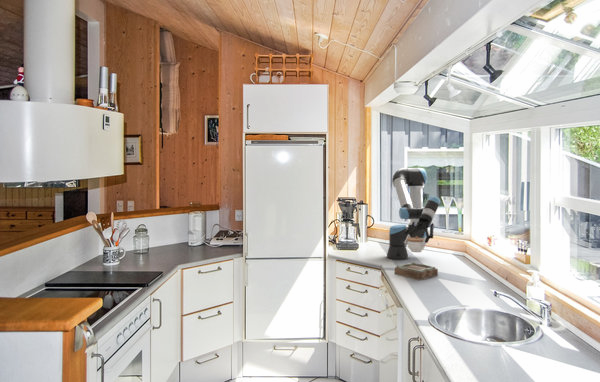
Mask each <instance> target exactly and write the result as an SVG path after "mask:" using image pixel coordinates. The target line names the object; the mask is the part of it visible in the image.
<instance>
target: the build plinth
mask: <svg viewBox="0 0 600 382" xmlns="http://www.w3.org/2000/svg"><path fill="white" fill-rule="evenodd" d="M394 275H397V276H401V277H405V278H409V279H413V280H417V281H420V280H425V279H428V278H433V277H437V276H438V275H439V269H438V268H436V266H432V265H427V264H423V263H419V262H409V263H405V264H404V263H403V264H400V265H397V266H395V267H394Z"/></svg>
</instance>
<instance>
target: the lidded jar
mask: <svg viewBox="0 0 600 382" xmlns="http://www.w3.org/2000/svg"><path fill="white" fill-rule="evenodd" d="M423 240H424V238H418V237H417V236H416V237H412V238H407V243H408V244H407V247H408V249H409V250H410V252H412V253H422V251H423V250H424V249H425V247H426V246H425V247H424V248H423V247H422V242H423Z"/></svg>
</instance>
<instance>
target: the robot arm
mask: <svg viewBox="0 0 600 382" xmlns="http://www.w3.org/2000/svg"><path fill="white" fill-rule="evenodd" d="M391 181H392V185H393V188H395V190H396V195H397V199H398V200H399V204H400V207H399V210H398V214H399V218H400V219H401V220H410V222H408V224H407V225H408V226H407V225H405V224H396V225H392V226H390V227H389V230H388V231H389V232H388V233H389V239H388V240H389V242H388V243H389V247H388V249H387V250H388V251H387V252H386V258H388V259H391V260H407V259H409V253H408V250H407V246H408V243H407V238H412V237H416V236H417V237H418V238H424V240H423V242H422V247H423V248H424V247H426V245H427V244H428V243H429V240H430V239H434V229H435V224H434V223H433V219H434V217H435V215H436V213H437V211H438V209H439V206H440V203H441V199H440V198H439V197H437V196H434V195H430V196H429V197H428V199H427V200H426V203H425V205H424V206H423V189H424V187H425V185H426V184H427V183H428V175H427V172H426V170H425V168H421V167H401V168H400V169H398V170H396V171H395V172H394V174H393V175H392V180H391ZM428 228H429V229H428ZM424 249H425V248H424Z"/></svg>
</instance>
